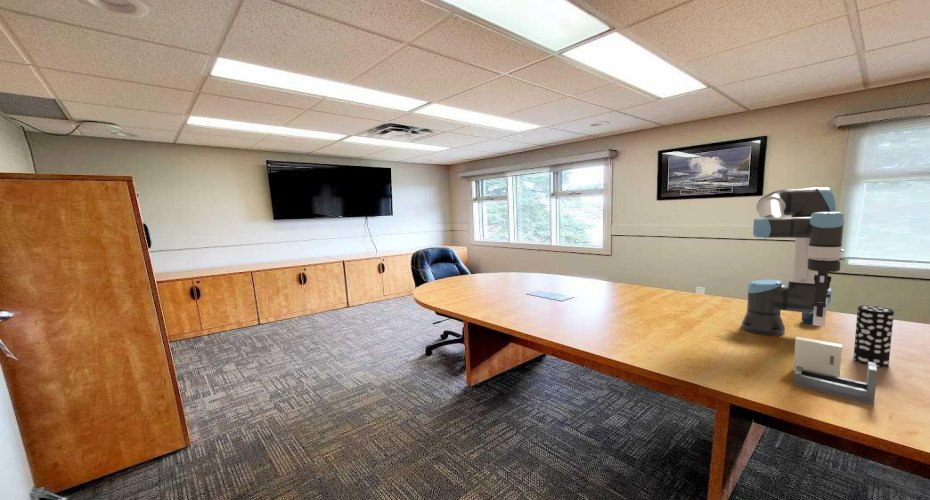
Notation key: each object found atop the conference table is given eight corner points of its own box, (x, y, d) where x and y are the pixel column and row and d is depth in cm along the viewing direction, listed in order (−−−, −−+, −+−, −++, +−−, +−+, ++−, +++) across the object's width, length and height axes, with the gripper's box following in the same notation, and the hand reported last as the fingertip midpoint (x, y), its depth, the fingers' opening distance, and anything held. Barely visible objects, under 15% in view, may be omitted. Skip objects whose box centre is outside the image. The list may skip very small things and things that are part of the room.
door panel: (793, 371, 121) (795, 339, 120) (794, 368, 123) (796, 336, 122) (839, 382, 113) (841, 347, 111) (839, 378, 115) (842, 344, 114)
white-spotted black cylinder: (893, 369, 119) (899, 313, 116) (858, 364, 123) (863, 310, 121) (881, 359, 126) (886, 306, 123) (849, 355, 130) (853, 304, 128)
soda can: (797, 320, 167) (798, 297, 165) (813, 320, 166) (815, 296, 164) (809, 325, 160) (811, 301, 158) (826, 325, 159) (828, 300, 157)
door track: (793, 385, 113) (795, 354, 111) (795, 377, 117) (797, 348, 116) (873, 405, 100) (877, 371, 99) (872, 395, 105) (875, 362, 103)
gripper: (840, 265, 102) (835, 333, 105) (841, 254, 119) (836, 313, 121) (805, 263, 108) (801, 327, 110) (810, 253, 124) (806, 309, 127)
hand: (819, 320), depth 116 cm, fingers open, 13 cm apart
